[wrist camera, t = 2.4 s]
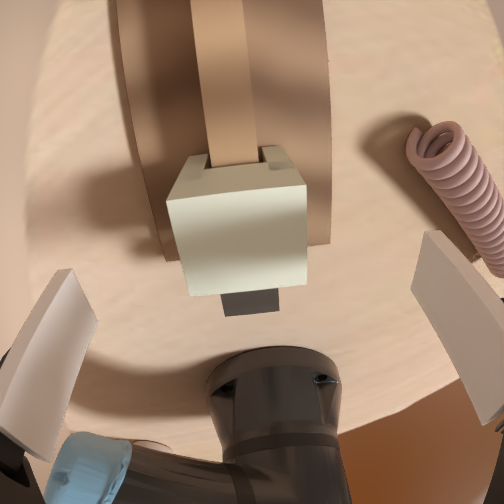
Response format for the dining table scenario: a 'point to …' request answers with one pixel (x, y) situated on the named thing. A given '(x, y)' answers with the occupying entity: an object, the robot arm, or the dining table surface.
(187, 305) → the dining table surface
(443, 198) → the coil
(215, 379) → the robot arm
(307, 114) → the track
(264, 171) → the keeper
